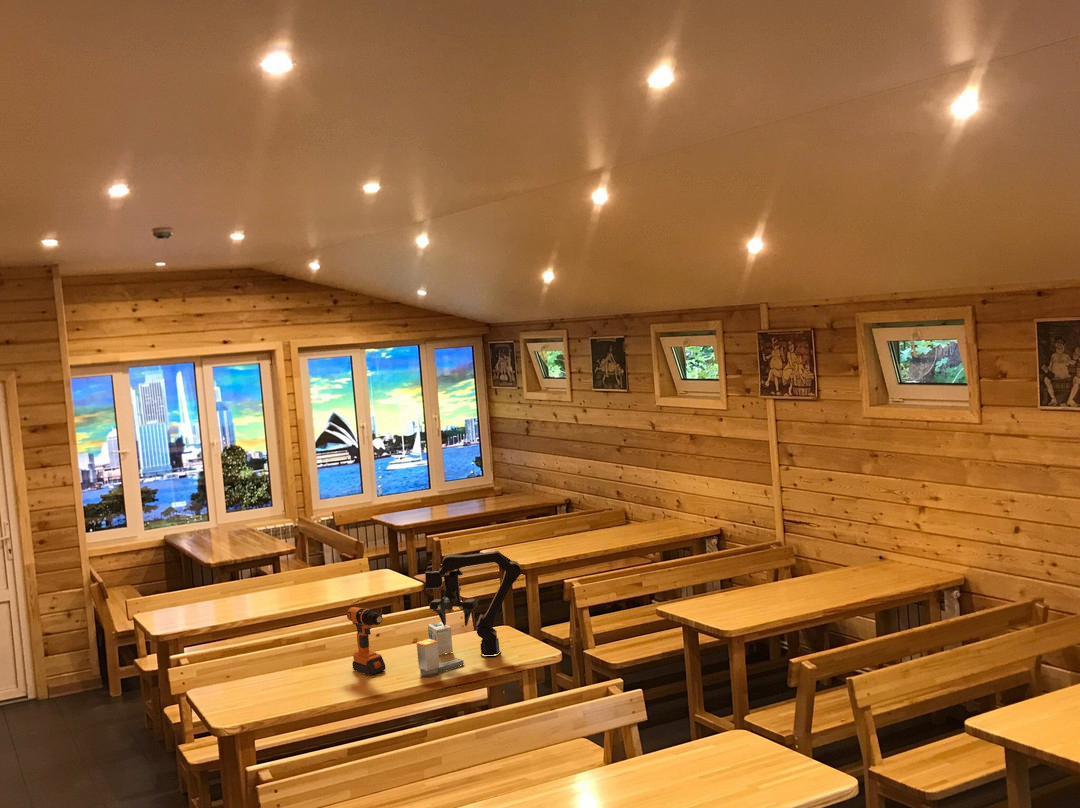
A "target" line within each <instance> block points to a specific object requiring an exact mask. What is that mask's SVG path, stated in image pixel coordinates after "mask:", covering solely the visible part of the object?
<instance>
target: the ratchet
mask: <svg viewBox="0 0 1080 808" xmlns="http://www.w3.org/2000/svg"><path fill="white" fill-rule="evenodd" d="M464 662H465V661H464V659H462V658H461V659H460V658H455V659H452V660H449V661H446V662H442V663H439V668H436V669H433V670H430V671H425V670H422V669H419V670H420V677H422V678H434V677H436V676H439V674H441V673H443V672H444V673H445V672H447V671H446V670H448V671H450V670H449V669H451V670H453V669H452V668H454V669H456V668H455V667H457V668H459V667H458V666H460V665H463V664H464V665H465V663H464ZM464 665H463V666H464ZM460 667H461V666H460Z"/></svg>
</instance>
